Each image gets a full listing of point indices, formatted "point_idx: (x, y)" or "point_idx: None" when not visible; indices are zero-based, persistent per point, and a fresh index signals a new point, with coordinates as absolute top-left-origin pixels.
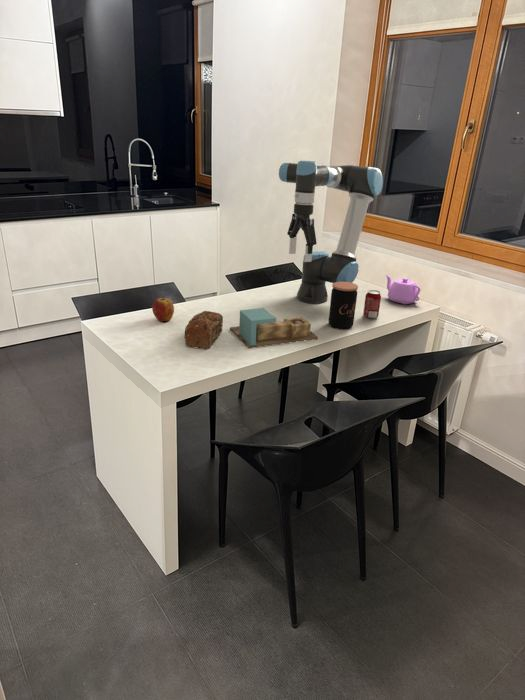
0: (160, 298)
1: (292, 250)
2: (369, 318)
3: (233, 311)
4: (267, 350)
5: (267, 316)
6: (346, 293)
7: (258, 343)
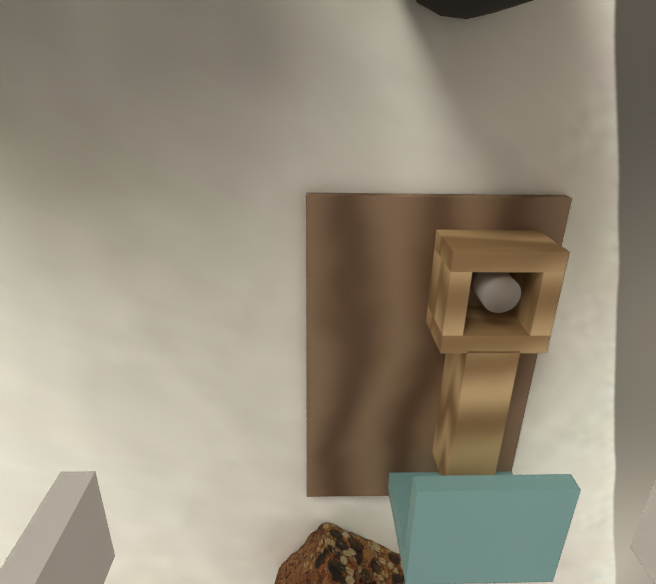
0: None
1: (82, 579)
2: None
3: (88, 415)
4: (552, 437)
5: (539, 514)
6: None
7: (503, 459)
